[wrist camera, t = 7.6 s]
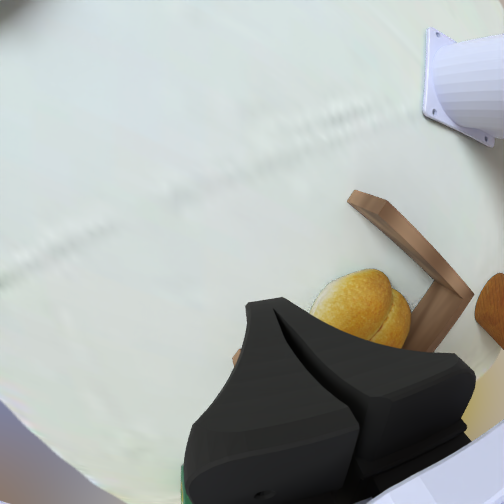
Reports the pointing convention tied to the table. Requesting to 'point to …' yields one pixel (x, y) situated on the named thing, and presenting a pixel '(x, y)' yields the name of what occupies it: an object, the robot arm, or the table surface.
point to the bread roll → (365, 308)
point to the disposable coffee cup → (492, 308)
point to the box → (426, 256)
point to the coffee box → (184, 497)
